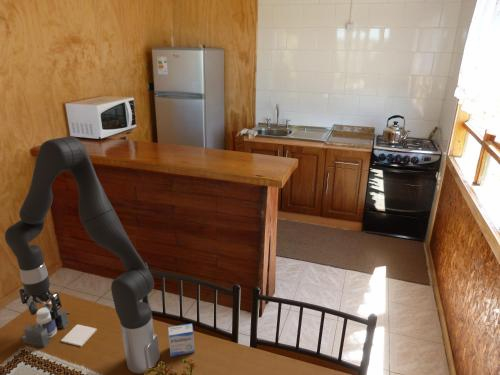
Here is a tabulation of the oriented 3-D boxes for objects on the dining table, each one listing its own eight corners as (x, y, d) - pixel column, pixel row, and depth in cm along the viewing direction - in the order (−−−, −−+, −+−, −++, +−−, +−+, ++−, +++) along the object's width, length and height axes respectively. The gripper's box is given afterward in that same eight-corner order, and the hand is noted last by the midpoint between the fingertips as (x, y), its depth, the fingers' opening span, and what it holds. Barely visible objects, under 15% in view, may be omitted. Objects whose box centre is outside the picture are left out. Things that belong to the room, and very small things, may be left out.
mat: (96, 329, 132) (96, 328, 132) (81, 346, 125) (81, 345, 125) (77, 325, 134) (77, 324, 134) (61, 341, 127) (61, 340, 127)
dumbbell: (73, 320, 137) (70, 306, 135) (44, 347, 125) (40, 333, 122) (52, 315, 139) (49, 302, 137) (22, 342, 127) (18, 328, 125)
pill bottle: (60, 327, 133) (54, 305, 130) (53, 339, 128) (47, 316, 125) (44, 328, 133) (38, 305, 129) (37, 339, 128) (30, 316, 124)
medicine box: (170, 357, 121) (168, 336, 118) (169, 347, 125) (167, 326, 122) (195, 352, 122) (193, 331, 119) (193, 342, 127) (192, 322, 123)
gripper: (61, 273, 124) (69, 312, 130) (26, 266, 127) (36, 304, 133) (43, 287, 117) (53, 327, 123) (7, 279, 121) (18, 319, 127)
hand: (44, 315), depth 128 cm, fingers open, 8 cm apart
